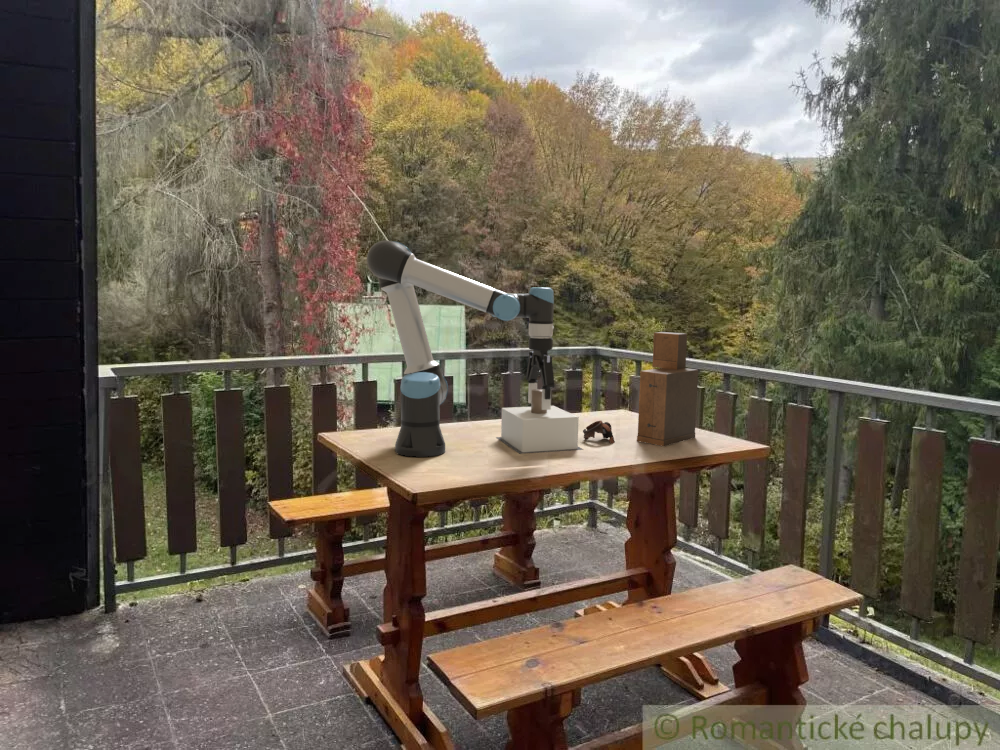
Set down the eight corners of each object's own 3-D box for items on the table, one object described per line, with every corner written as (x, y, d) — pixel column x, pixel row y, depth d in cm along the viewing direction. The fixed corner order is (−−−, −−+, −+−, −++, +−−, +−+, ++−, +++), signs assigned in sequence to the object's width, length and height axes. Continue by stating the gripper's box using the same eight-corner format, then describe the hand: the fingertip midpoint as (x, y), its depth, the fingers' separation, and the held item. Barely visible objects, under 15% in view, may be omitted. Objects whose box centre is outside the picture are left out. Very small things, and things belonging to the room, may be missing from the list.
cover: (522, 452, 221) (523, 396, 218) (501, 438, 240) (502, 386, 238) (577, 448, 226) (579, 394, 224) (552, 435, 245) (554, 384, 243)
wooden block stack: (659, 431, 257) (663, 331, 253) (695, 437, 247) (700, 334, 243) (627, 439, 244) (631, 334, 239) (663, 446, 234) (668, 337, 229)
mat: (519, 455, 219) (519, 453, 219) (495, 439, 241) (495, 437, 241) (583, 451, 226) (583, 449, 226) (554, 435, 247) (555, 433, 247)
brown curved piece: (611, 449, 232) (598, 426, 231) (587, 457, 237) (575, 436, 237) (624, 433, 241) (612, 411, 241) (600, 441, 247) (589, 420, 246)
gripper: (566, 340, 219) (564, 412, 222) (538, 333, 241) (536, 399, 244) (543, 340, 216) (541, 413, 219) (516, 334, 238) (515, 400, 241)
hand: (539, 406), depth 232 cm, fingers open, 11 cm apart
